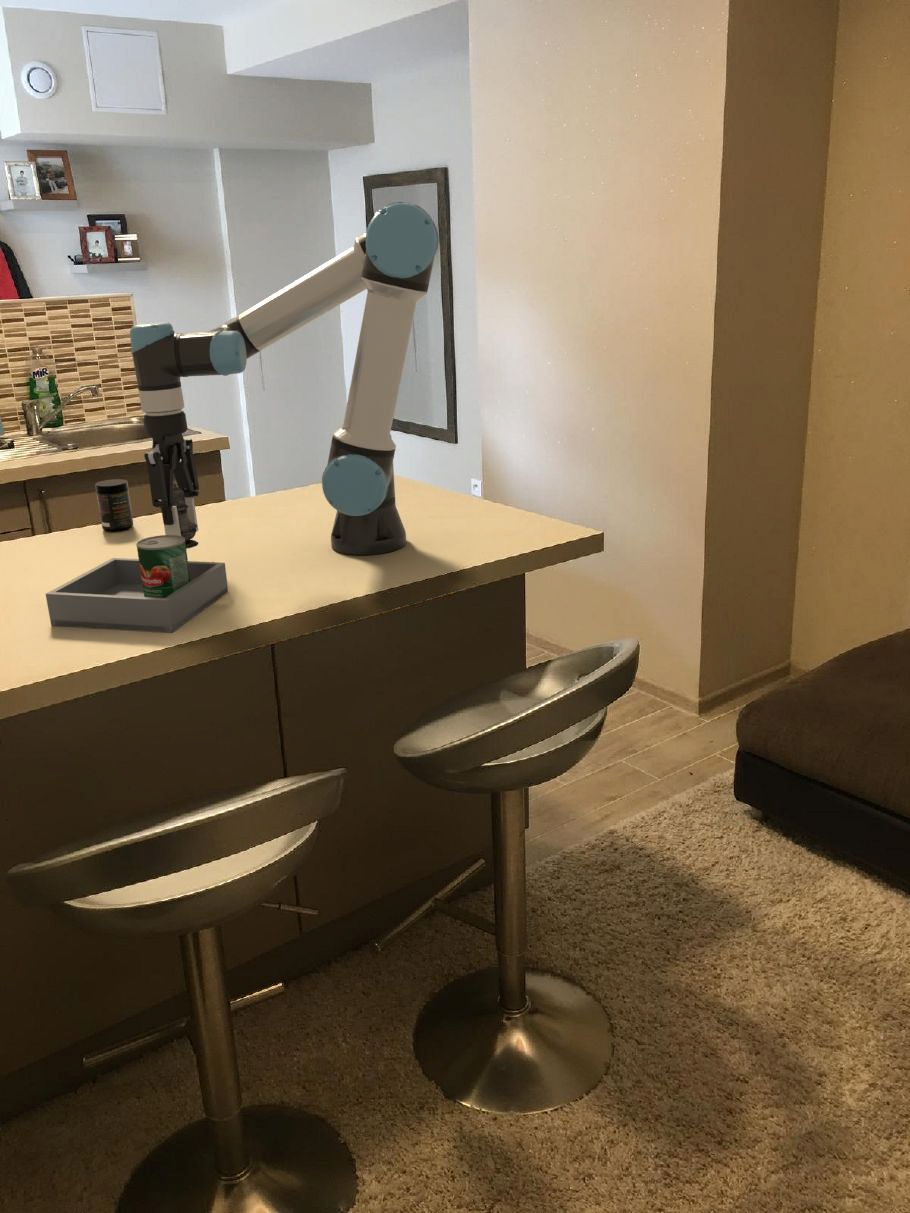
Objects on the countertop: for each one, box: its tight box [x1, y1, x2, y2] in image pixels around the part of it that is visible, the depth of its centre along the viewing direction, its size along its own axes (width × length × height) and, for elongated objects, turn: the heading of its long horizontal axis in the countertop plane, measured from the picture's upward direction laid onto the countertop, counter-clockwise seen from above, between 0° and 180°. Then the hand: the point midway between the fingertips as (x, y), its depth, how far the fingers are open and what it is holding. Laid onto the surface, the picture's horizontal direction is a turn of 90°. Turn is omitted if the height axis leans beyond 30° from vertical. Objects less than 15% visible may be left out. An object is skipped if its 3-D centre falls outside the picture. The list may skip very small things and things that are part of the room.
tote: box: [45, 557, 229, 634], centre depth 172 cm, size 22×20×6 cm
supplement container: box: [94, 478, 134, 533], centre depth 222 cm, size 7×7×10 cm
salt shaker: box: [173, 482, 199, 550], centre depth 189 cm, size 6×6×12 cm
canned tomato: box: [135, 534, 191, 598], centre depth 169 cm, size 8×8×11 cm
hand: (182, 535), depth 190 cm, fingers closed on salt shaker, 6 cm apart
